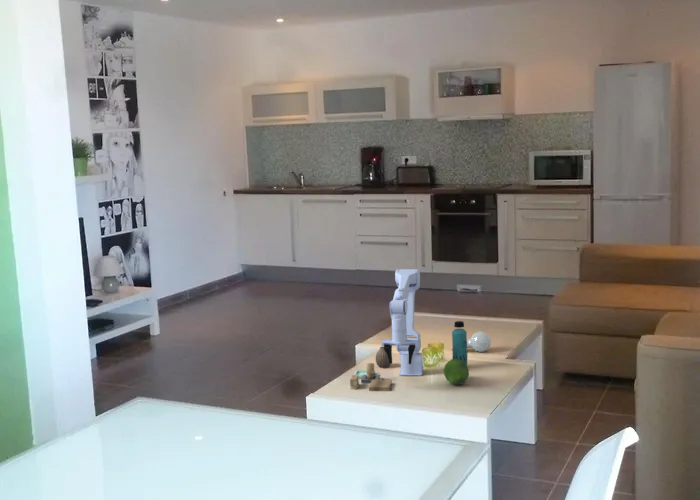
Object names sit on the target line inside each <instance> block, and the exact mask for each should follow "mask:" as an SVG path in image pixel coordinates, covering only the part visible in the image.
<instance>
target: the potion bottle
mask: <svg viewBox="0 0 700 500" xmlns="http://www.w3.org/2000/svg"><path fill="white" fill-rule="evenodd" d="M491 343H492V339H491V337H490V336H489V334H488V333H487V332H484V331H481V330H480V331H476V332H475V333H473V334H472V335H471V337H470V338H468V337H467V349H473V350H474V351H475V352H477V351H478V352H477V353H484V352H486V351H488V350H489V348H490V347H491Z"/></svg>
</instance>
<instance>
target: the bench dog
mask: <svg viewBox="0 0 700 500" xmlns="http://www.w3.org/2000/svg"><path fill="white" fill-rule="evenodd" d="M349 383H350V390H357V389H358V387H359V384H360V381H359V379H358V375H354V374H353V375H351V377H350V380H349Z"/></svg>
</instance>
